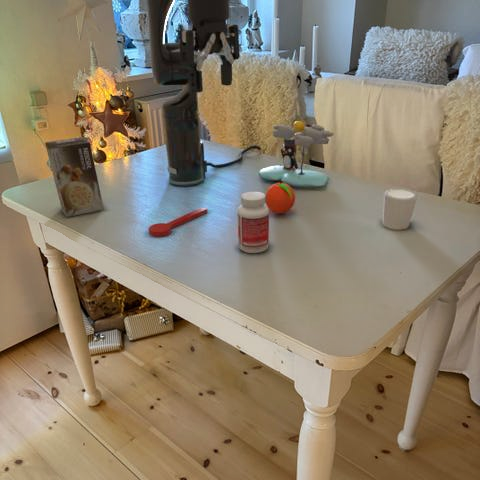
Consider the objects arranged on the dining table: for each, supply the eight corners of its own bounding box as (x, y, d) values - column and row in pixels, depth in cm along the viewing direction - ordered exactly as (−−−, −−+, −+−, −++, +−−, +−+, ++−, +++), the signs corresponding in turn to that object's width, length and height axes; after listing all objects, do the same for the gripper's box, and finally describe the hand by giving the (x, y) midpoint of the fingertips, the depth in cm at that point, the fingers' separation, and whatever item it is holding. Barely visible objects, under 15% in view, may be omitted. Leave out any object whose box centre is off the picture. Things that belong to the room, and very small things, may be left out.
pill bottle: (274, 249, 100) (275, 196, 94) (249, 257, 97) (249, 203, 91) (257, 238, 104) (257, 187, 98) (232, 245, 101) (231, 194, 95)
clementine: (303, 215, 114) (304, 185, 110) (278, 222, 111) (279, 191, 107) (283, 204, 119) (284, 175, 115) (259, 210, 116) (259, 181, 112)
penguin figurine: (252, 179, 134) (252, 121, 126) (274, 169, 141) (275, 113, 133) (315, 194, 124) (320, 132, 116) (336, 182, 131) (341, 123, 123)
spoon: (197, 209, 118) (197, 204, 117) (212, 214, 115) (212, 209, 115) (144, 233, 107) (144, 228, 107) (159, 239, 105) (159, 233, 104)
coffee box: (97, 201, 123) (85, 135, 114) (104, 210, 119) (91, 142, 109) (60, 209, 120) (44, 141, 111) (65, 218, 115) (49, 148, 106)
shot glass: (412, 220, 110) (418, 189, 106) (410, 232, 105) (416, 201, 101) (381, 216, 112) (385, 186, 108) (378, 228, 107) (382, 197, 103)
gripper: (195, -10, 81) (201, 97, 90) (249, -13, 89) (249, 84, 99) (164, -10, 84) (173, 92, 94) (218, -13, 93) (221, 81, 103)
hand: (212, 88), depth 96 cm, fingers open, 8 cm apart
